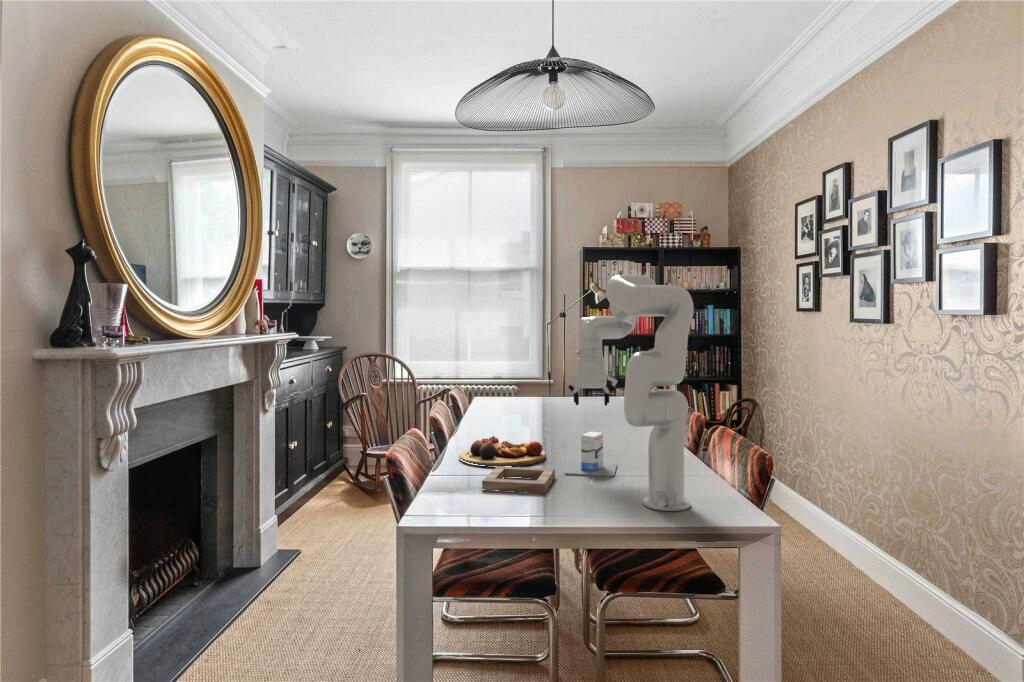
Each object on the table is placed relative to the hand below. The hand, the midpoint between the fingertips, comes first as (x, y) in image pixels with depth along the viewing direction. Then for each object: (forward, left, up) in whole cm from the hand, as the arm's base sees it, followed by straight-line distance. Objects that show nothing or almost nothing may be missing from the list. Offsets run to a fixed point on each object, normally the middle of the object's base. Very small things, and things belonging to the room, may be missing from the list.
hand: (591, 405), depth 214 cm
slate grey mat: (0, 0, -22) cm, 22 cm away
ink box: (0, 0, -22) cm, 22 cm away
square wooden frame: (-22, +20, -22) cm, 37 cm away
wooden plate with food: (+13, +34, -23) cm, 43 cm away
